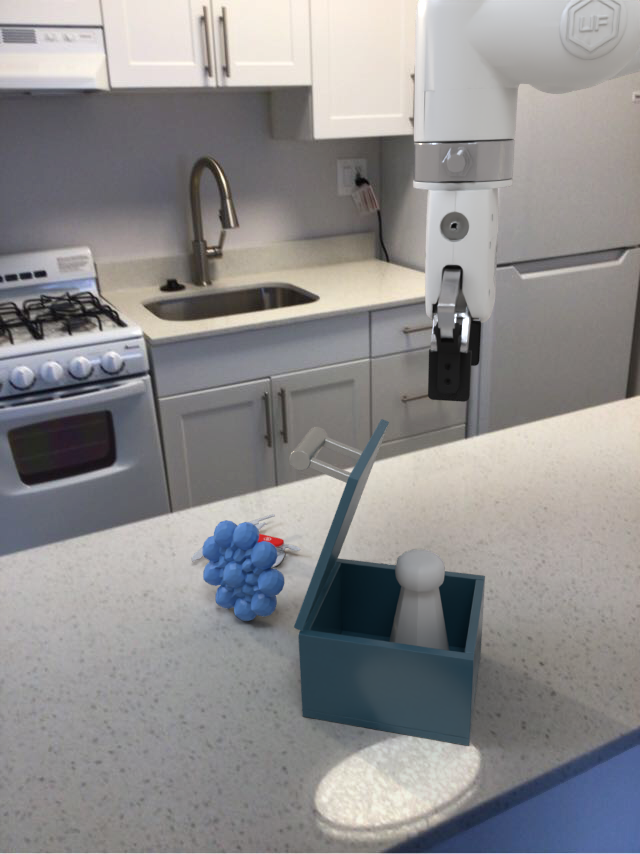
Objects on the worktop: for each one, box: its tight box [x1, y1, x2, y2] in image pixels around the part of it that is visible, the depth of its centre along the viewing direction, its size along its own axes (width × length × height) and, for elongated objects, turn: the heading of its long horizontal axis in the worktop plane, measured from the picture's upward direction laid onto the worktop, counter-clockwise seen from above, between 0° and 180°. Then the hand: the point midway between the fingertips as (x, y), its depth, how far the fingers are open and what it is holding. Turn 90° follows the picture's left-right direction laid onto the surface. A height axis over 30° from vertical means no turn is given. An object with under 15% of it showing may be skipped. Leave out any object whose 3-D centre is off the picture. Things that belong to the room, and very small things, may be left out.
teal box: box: [297, 557, 486, 747], centre depth 69 cm, size 15×13×9 cm
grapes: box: [201, 519, 285, 622], centre depth 79 cm, size 12×7×12 cm, turn 49°
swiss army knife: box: [191, 513, 302, 568], centre depth 94 cm, size 12×14×2 cm
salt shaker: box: [389, 548, 449, 650], centre depth 68 cm, size 6×6×13 cm
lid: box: [288, 418, 390, 632], centre depth 66 cm, size 15×13×6 cm
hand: (455, 380), depth 64 cm, fingers open, 9 cm apart
